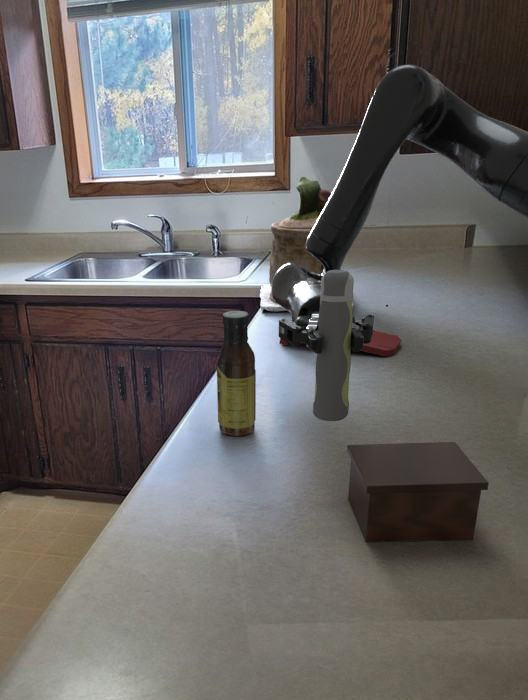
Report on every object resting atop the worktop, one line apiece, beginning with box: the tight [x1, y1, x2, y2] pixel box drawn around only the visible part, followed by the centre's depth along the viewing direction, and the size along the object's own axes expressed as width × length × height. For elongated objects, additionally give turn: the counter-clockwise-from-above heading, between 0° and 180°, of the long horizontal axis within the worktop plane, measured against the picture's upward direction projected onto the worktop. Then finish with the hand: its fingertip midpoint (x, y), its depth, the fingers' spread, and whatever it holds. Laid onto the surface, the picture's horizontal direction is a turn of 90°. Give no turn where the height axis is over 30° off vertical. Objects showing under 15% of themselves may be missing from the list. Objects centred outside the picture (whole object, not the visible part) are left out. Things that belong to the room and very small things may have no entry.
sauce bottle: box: [216, 310, 257, 437], centre depth 119 cm, size 7×6×20 cm
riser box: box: [346, 441, 489, 543], centre depth 93 cm, size 14×12×8 cm
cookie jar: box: [259, 176, 355, 312], centre depth 196 cm, size 25×25×32 cm
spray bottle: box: [312, 269, 355, 422], centre depth 99 cm, size 5×5×20 cm
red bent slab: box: [279, 319, 402, 357], centre depth 165 cm, size 12×5×25 cm
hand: (338, 345), depth 96 cm, fingers closed on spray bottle, 4 cm apart
